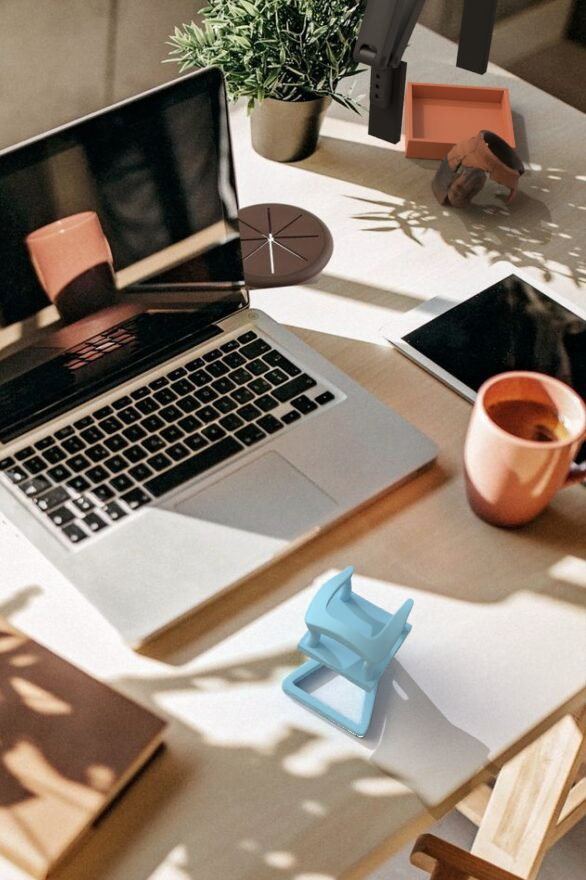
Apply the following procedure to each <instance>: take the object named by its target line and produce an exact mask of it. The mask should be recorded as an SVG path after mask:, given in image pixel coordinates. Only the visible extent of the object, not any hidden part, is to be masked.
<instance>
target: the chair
mask: <svg viewBox="0 0 586 880" xmlns="http://www.w3.org/2000/svg"><path fill="white" fill-rule="evenodd" d="M354 572H355V567H354V566H353V565H348V566H346V567H345V568H344V569H343V570H342V571H341V572H339V573H338V574H336V575H334V576H333V577H331V578H329V579H328V580H327V581H325V582H324V584H322V585H321V587H320V588H319V589H318V590H317V591H316V593H315V595H314V596H313V597H312V599H311V601H310V603H309V605H308V607H307V609H306V611H305V614H304V617H303V618H304V619H303V621H304V623H305V625H306V628H307V629H308V630H307V631H306V632H305V634H304V635H303V636H302V638H300V640H299V642H298V643H297V645H296V650H297V651H298V652H299V653H301V654H303V655H305V656H307V657H308V658H310V659H309V660H307V661H306V662H304V663H303V664H301V665H299V667H297V668H296V669H295V670H293V671H292V672H291V673H289V674H288V675H287V676H285V678H284V679H283V680H282V681H281V690H282V691H283V692H284V693H285V694H286V695H288V694H289V695H288V696H290V697H291V696H292V697H291V698H293V697H294V698H293V699H295V700H296V701H298V700H299V701H298V702H300V703H302V704H303V705H304V704H305V705H304V706H306V707H308V708H309V707H310V708H309V709H311V708H312V709H311V710H312V711H314V712H316V713H317V712H318V714H319V713H320V714H319V715H321V714H322V715H323V716H322V715H321V716H322V717H324V716H325V717H324V718H325V719H327V718H328V719H327V720H329V719H330V720H332V721H334V722H335V723H336V724H335V723H334V722H333V723H334V724H335V725H337V724H339V725H340V726H342V727H344V728H345V729H347V730H349V731H351V732H352V733H354V734H356V735H358V736H364V735H365V736H366V734H367V732H368V729H369V727H370V723H371V719H372V716H373V715H372V714H373V711H374V705H375V701H376V696H377V693H378V692H377V691H378V686H379V680H380V678H381V677H382V675H383V673H384V672H385V671H386V669H387V667H388V666H389V665H390V663H391V662H392V660H393V659H394V657H395V656H396V654H397V653H398V652H399V650H400V648H401V647H402V646H403V644H404V642H405V640H406V638H407V637H408V636H409V635H410V633H411V632H412V628H413V624H411V623H409V622H407V621H408V618H409V616H410V614H411V612H412V609H413V606H414V602H415V601H414V599H413V598H408V599H406V600H405V601H404V602H403V603H402V604H401V606H400V607H399V608H398V609H397V610H396V611H395V612H394V614H393V613H390V612H389V611H387V610H385V609H383V608H381V607H379V606H378V605H376V604H374V603H372V602H371V601H370V600H367V599H366V598H364V597H362V596H361V595H359V594H357V593H356V592H355V591H353V590H352V586H353V585H352V577H353V574H354ZM322 666H323V667H324V666H325V667H326V668H328V669H329V670H332V671H333V672H335V673H336V674H338V675H339V676H341V677H343V678H344V679H346V680H347V681H348V682H350V683H352V684H353V685H355V686H356V687H358V688H359V689H360V690H363V691H365V692H364V697H365V698H363V704H362V710H361V716H360V717H361V718H360V722H359V723H357V722H354V721H352V720H351V719H349V718H347V717H346V716H344V715H343V714H342V713H340V712H338V711H337V710H335V709H333V708H331V707H330V706H328V705H327V704H325V703H324V702H322V701H320V700H319V699H318V698H317V697H315V696H313V695H311V694H309V693H308V692H306V691H305V690H303V689H302V688H301V687H298V686H297V685H296V684H298V683H299V682H301V681H302V680H304V679H305V678H307V677H308V676H310V675H311V673H312V674H314V673H315V672H316V671H318V670H320V669H321V668H322ZM314 671H315V672H314ZM330 720H329V721H330ZM332 721H331V722H332ZM340 726H339V727H340ZM342 727H341V728H342ZM345 729H344V730H345ZM347 730H346V731H347ZM365 733H366V734H365ZM365 736H364V737H365Z"/></svg>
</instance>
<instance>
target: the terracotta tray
mask: <svg viewBox="0 0 586 880" xmlns="http://www.w3.org/2000/svg"><path fill="white" fill-rule="evenodd" d="M511 107H512V106H511V100H510V91H509V88H507V87H492V86H478V85H463V84H462V85H461V84H448V83H447V84H446V83H434V82H432V83H431V82H419V81H418V82H417V81H407V82H406V86H405V95H404V153H405V154H404V156H405V158H409V159H424V160H441V161H442V160H443V159H444V158H445V156H446V155H447V154H448V153H449V152H450V151H451V150H452V148H453V147H454V146H455V145H457V143H459V142H461V141H463V140H467V139H470V138H472V137H476V136H477V135H478V133H479V132H480V131H481V130H488V131H491V132H493V133H495V134H497V135H498V136H499V137H501V138H502V139H503V140H505V141H506V142H507V143H508V144H509V145H510V146H511V148H512V149H513V150H514V151H515V152H516V140H515V132H514V131H515V130H514V123H513V116H512V115H513V114H512V108H511ZM486 145H487V146H488V144H487V143H486ZM496 158H497V157H496ZM497 159H498V158H497ZM498 160H499V159H498ZM499 161H500V160H499Z"/></svg>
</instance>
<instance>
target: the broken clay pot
mask: <svg viewBox="0 0 586 880" xmlns="http://www.w3.org/2000/svg"><path fill="white" fill-rule="evenodd" d="M486 143H487V144H488V146H487V145H486ZM496 157H497V158H498V159H499V160H500V161H499V160H498V159H497V158H496ZM460 167H462V168H461V170H460V172H458V171H459V169H460ZM525 172H526V168H525V165H524V163H523V161H522V159H521V158H520V156H519V155H518V153H517V152H516V150H515V151H514V150H513V149H512V148H511V146H510V145H509V144H508V143H507V142H506V141H505V140H503V139H502V138H501V137H499V136H498V135H497V134H495V133H493V132H491V131H488V130H481V131H480V132H479V133H478V135H477V136H476V137H472V138H470V139H467V140H463V141H461V142H459V143H457V145H455V146H454V147H453V148H452V150H451V151H450V152H449V153H448V154H447V155H446V156H445V158H444V159H443V160H441V163H440V164H439V166H438V167H437V169H436V172H435V174H434V176H433V179H432V180H431V185H430V186H431V190H432V193H433V196H434V198H436V200H437V202H438V203H439V204H440V205H444V204H445V203H446V200H447V198H448V201H449V202H450V204H451V205H452V206H453V207H455V208H459V209H466V208H467V207H468V205H470V203H471V201H472V200H473V198H474V197H476V196H477V195H479V193H480V191H482V190H483V188H485V187H484V186H485V184H486V181H487V175H486V173H487V174H489V177H488V178H489V180H490V181H493V182H496V183H497V184H499V185H504V186H505V187H507V188H509V189H510V192H509V194H508V196H507V198H506V199H505V200H504V206H508V205H509V204H510V202H511V201H512V200H513V198H514V197H515V195H516V193H517V190H518V187H519V178H521V176H523V175H524V174H525Z"/></svg>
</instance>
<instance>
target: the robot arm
mask: <svg viewBox="0 0 586 880" xmlns="http://www.w3.org/2000/svg"><path fill="white" fill-rule="evenodd" d="M366 2H367V3H366V6H365V10H364V13H363V16H362V20H361V25H360V27H359V31H358V35H357V39H356V42H355V45H354V49H353V52H352V59H353V61H354V62H357V63H359V64H363V65H365V66H369V67H370V77H369V78H370V79H369V92H368V93H369V95H368V100H369V109H368V126H367V135H368V136H371V137H374V138H376V139H379V140H380V141H383V142H387V143H389V144H392V145H394V146H395V145H397V144H398V143H399V142H401V141H402V139H401V138H402V128H403V116H404V107H405V93H406V84H407V82H406V81H407V72H408V71H407V70H408V62H407V61H404V60H402V59H403V56H404V54H405V52H406V49H407V47H408V44H409V42H410V39H411V37H412V36H413V32H414V30H415V28H416V26H417V23H418V21H419V18H420V16H421V13H422V11H423V8H424V6H425V4H426V2H427V0H367V1H366ZM498 2H499V1H498V0H463V7H462V16H461V23H460V29H459V38H458V45H457V53H456V60H455V67H456V68H459V69H462V70H465V71H467V72H470V73H474V74H477V75H480V76H483V75H485V74H486V73H487V72H488V67H489V59H490V54H491V53H490V52H491V47H492V41H493V40H492V39H493V35H494V34H493V33H494V27H495V20H496V15H497V9H498Z"/></svg>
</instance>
